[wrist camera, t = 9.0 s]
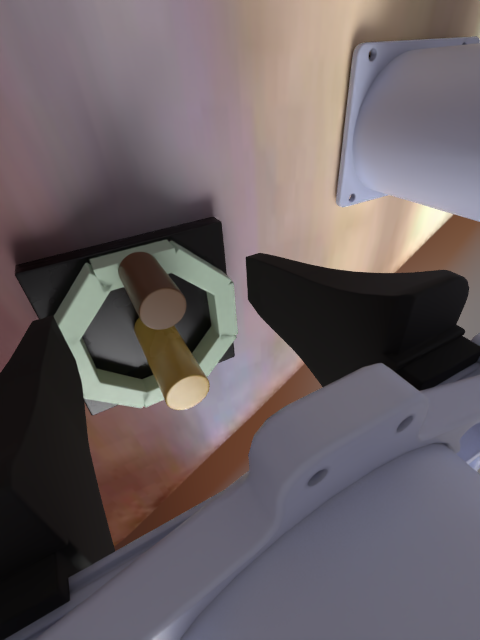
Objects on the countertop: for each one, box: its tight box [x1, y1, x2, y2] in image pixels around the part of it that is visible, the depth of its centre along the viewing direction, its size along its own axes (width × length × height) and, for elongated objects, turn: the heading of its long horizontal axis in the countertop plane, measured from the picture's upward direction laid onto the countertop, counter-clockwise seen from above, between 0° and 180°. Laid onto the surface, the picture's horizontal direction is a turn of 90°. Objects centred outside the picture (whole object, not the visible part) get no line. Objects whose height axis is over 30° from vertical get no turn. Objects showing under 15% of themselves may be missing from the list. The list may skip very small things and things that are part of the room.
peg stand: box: [15, 217, 235, 415], centre depth 16 cm, size 10×10×6 cm
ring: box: [54, 240, 238, 408], centre depth 16 cm, size 10×9×5 cm
